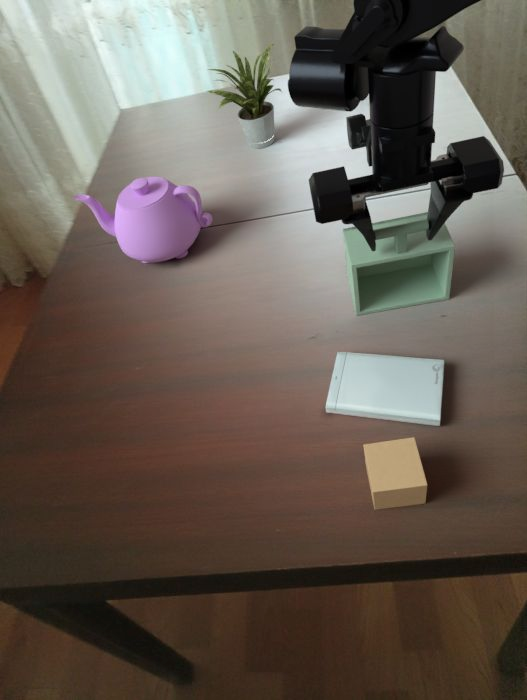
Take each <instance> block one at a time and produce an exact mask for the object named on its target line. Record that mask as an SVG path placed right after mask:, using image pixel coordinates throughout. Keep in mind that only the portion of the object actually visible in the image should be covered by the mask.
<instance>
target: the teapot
mask: <svg viewBox="0 0 527 700" xmlns="http://www.w3.org/2000/svg"><path fill="white" fill-rule="evenodd" d="M190 196H191V197H190ZM73 198H74V199H75V200H77V201H80V202H82V203H84V204H85V205H86V206H87V207H88V208H89V209H90V210H91V212H92V213H93V215H94V216H95V218H96V220H97V222H98V223H99V225H100V227H101V228H102V230H104V231H105V232H106V233H107V234H108V235H111V236H112V237H114V238H116V240H117V243H118V246H119V248H120V249H121V251H122V252H123V253H124V254H125V255H126V256H127V257H129V258H131V259H133V260H137V261H139V262H141V263H142V264H149V263H161V262H165V261H169V260H171V259H183V258H185V257H186V256H187V255H188V254H189V251H188V249H190V248H191V247H192V245H193V244H194V242H195V241H196V239H197V238H198V235H199V233H200V231H201V228H208V227H209V226H210V225H211V224H212V223H213V216H212V215H211V213H209V212H206V211H205V212H203V205H202V204H203V203H202V197H201V194H200V192H199V191H198V189H196V188H195V187H193V186H191V185H188V184H186V185H185V184H183V185H179V186H177V184H175V183H174V182H172V181H170V180H168V179H167V178H164V177H161V176H148V177H147V176H146V177H138V178H135V179H134V180H133V181H132V182H130V183H129V184H128V185H127V186H125V188H123V189H122V191H120V193H119V195H118V197H117V200H116V205H115V209H114V210H115V211H114V214H112V213H110V212H108V211H107V210H106V209H105V208H104V206H102V204H101V203H100V202H99V200H97V199H96V198H95V197H94V196H91V195H89V194H74V195H73Z"/></svg>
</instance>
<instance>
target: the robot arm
mask: <svg viewBox="0 0 527 700" xmlns="http://www.w3.org/2000/svg"><path fill="white" fill-rule="evenodd" d="M481 1H482V0H353V3H352V4H353V10H354V11H353V13H352V14H351V15H352V16H351V17H350V19H349V20H348V23H347V24H346V27H345V28H343V29H342V28H341V29H340V28H322V27H318V26H311V25H309V26H304V28H302V29H301V30H300V31H299V32H298V33H297V34H295V35H294V45H295V46H294V47H295V50H294V53H293V55H292V58H291V62H290V65H289V74H288V77H289V79H288V80H287V90H288V94H289V98H290V99H291V101H292V102H293V104H294V105H295V106H297V107H298V108H299V107H300V108H309V109H311V108H312V109H318V110H319V109H320V110H331V111H337V112H339V111H340V112H353V111H354V110H355V109H357V107H358V106H359V104H360V103H361V102H364V101H365V100H366V99H367V97H368V103H369V105H368V106H369V118H366V115H364V114H363V113H358V114H355V115H354V114H353V115H350V116H346V118H345V119H346V133H347V141H348V142H347V143H348V146H349V148H350V149H351V150H353V151H354V150H357V149H362V148H365V150H366V161H367V165H368V167H371V171H372V173H371V174H367V175H364V176H358V177H354V178H350V179H349V178H348V175H347V171H346V167H345V165H344V166H339V167H333V168H329V169H324V170H320V171H316V172H313V173H312V174H311V175H310V177H309V178H308V186H309V192H310V196H311V203H312V207H313V213H314V218H315V222H316V223H318V224H320V225H323V224H328V223H333V222H338V221H341V223H342V224H344V225H353V227H356V228H357V229H358V230H359V231H360V233H361V234H362V235H363V236H364V238H365V240H366V242H367V243H368V245H369V247H370V248H371V250H372V251H376V242H375V237H374V232H373V227H372V223H373V221H372V217H371V213H370V210H369V207H368V204H367V199H366V198H369V197H375V196H380V195H384V194H385V195H386V194H390V193H394V192H400V191H404V190H408V189H413V188H419V187H424V186H427V185H429V183H430V195H429V202H428V208H427V212H428V215H427V220H428V222H429V230H426V236H427V239H428V240H429V241H430V240H432V239H433V238H434V237H435V235H436V234H437V232H438V231H439V230H440V228H441V227H442V226H443V224H444V223H445V224H446V222H447V221H448V219H449V218H450V217H451V216H452V215H453V214H454V213H455V212H456V210H457V209H458V208H459V207H460V206H461V205H462V204H463V203H464V202H466V201H467V202H468V201H470V200H472V199H473V196H474V194H478V193H482V192H487V191H491V190H492V191H493V190H496V189H499V188H500V187H501V186H502V184H503V178H504V172H505V165H504V160H503V159H502V158H501V156H500V154H499V153H498V152H497V150H496V149H495V146H494V145H493V144H492V142H491V141H490V140H489V139H488V138H487V137H486V136H485V135H482V136H477V137H473V138H467V139H465V140H464V139H463V140H459V141H454V142H450V143H449V144H448V145H447V146H446V153H444V154H439V155H438V156H436V158H435V159H434V160H432V149H433V144H435V143H436V131H435V129H434V114H435V113H434V112H435V95H436V77H437V76H436V75H437V74H436V73H437V72H438V73H439V72H441V73H446V72H448V70H449V69H450V68H451V67H452V66H453V64H454V63H455V62H456V61H457V59H459V57H460V56H461V54H462V53H463V52H464V49H465V46H464V44H463V43H462V42H460V40H458V39H457V38H456V37H454V36H453V35H452V34H450V32H449V31H448V29H447V27H446V26H445V25H441V24H443V23H444V22H446V21H447V20H450V19H451V18H452V17H455V16H456V15H457V14H460V13H461V12H462V11H463V10H465V9H468V8H469V7H471V6H473V5H475V4H477V3H479V2H481ZM440 25H441V26H440ZM438 26H439V28H438V29H437V30H436V31H435V32H434V33H433V34H432V36H422V35H423V34H425V33H427V32H429V31H431V30H433V29H435V28H436V27H438Z"/></svg>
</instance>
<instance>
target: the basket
mask: <svg viewBox="0 0 527 700" xmlns="http://www.w3.org/2000/svg"><path fill="white" fill-rule="evenodd" d="M427 215H428V211H426V212H421V213H416V214H411V215H406V216H401V217H397V218H391V219H387V220H382V221H376V222H372V227H373V232H374V237H375V242H376V251H372V250H371V248H370V247H369V245H368V243H367V242H366V240H365V238H364V236H363V235H362V234H361V233H360V231H359V230H358V229H357V228H356V227H355V226H353V227H352V226H351V227H346V228H342V237H343V247H344V254H345V264H346V265H345V266H346V274H347V282H348V286H349V290H350V295H351V298H352V304H353V309H354V312H355V316H356V317H357V316H363V315H368V314H374V313H379V312H385V311H390V310H396V309H397V310H398V309H403V308H408V307H412V306H418V305H425V304H429V303H430V304H431V303H436V302H441V301H447V300H450V294H451V287H452V278H453V269H454V259H455V252H456V251H455V250H456V244H455V242H454V240H453V237H452V235H451V233H450V231H449V229H448V226H447V225H446V222H445V223H444V224H443V226H442V227H441V228H440V230H439V231H438V232H437V234H436V235H435V237H434V238H433V239H432V240H430V241H429V240H428V239H427V236H426V230H429V222H428V220H427Z"/></svg>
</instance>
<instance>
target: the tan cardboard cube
mask: <svg viewBox="0 0 527 700" xmlns="http://www.w3.org/2000/svg"><path fill="white" fill-rule="evenodd" d="M363 452H364V453H363V454H364V461H365V469H366V473H367V480H368V484H369V488H370V493H371V499H372V504H373V510H374V511H375V510H376V511H377V510H384V509H385V510H386V509H392V508H400V507H408V506H416V505H424V504H426V503H427V493H428V481H427V478H426V474H425V470H424V467H423V463H422V460H421V456H420V455H421V454H420V452H419V448H418V444H417V442H416V438H415V437H414V436H413V437H405V438H400V439H399V438H398V439H393V440H392V439H391V440H385V441H384V440H383V441H379V442H371V443H364V444H363Z"/></svg>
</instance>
